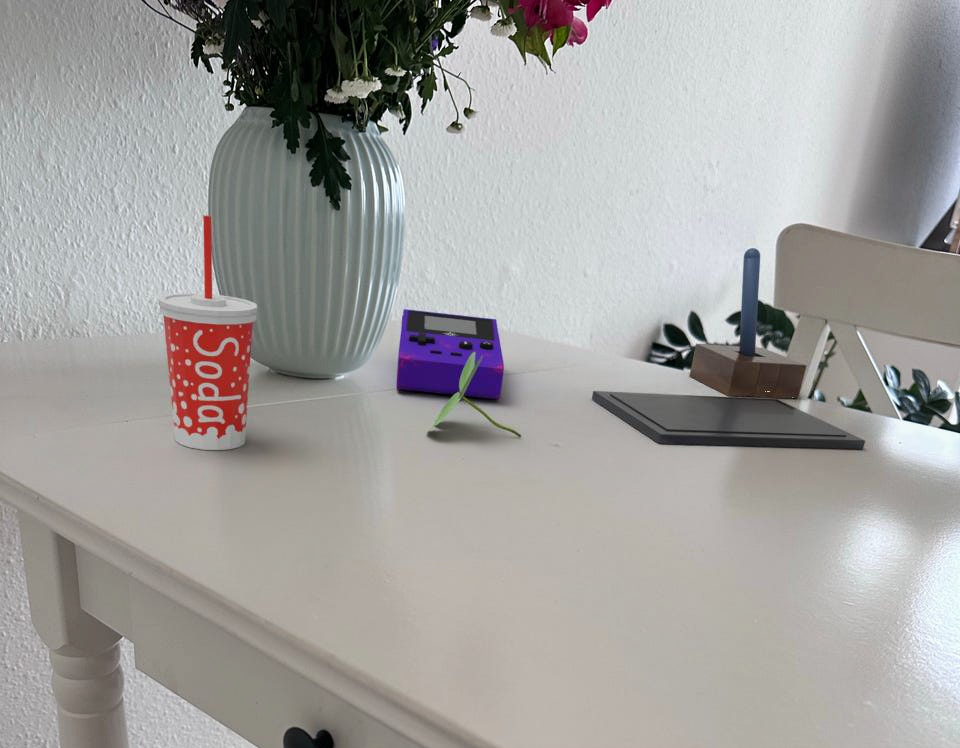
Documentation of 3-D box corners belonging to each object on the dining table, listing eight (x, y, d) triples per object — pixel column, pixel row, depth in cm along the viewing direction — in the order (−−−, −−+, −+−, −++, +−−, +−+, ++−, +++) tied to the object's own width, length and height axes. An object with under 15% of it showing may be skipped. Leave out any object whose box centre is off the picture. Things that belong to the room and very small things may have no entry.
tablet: (775, 407, 96) (777, 398, 95) (863, 449, 84) (866, 439, 83) (591, 399, 89) (592, 389, 89) (658, 443, 78) (660, 433, 77)
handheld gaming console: (397, 352, 81) (403, 304, 93) (393, 411, 84) (399, 357, 96) (507, 363, 82) (498, 314, 94) (499, 422, 84) (491, 367, 97)
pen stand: (755, 379, 107) (763, 347, 106) (798, 399, 100) (807, 365, 99) (689, 376, 105) (695, 343, 103) (728, 395, 98) (736, 361, 96)
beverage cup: (152, 448, 62) (142, 213, 56) (175, 423, 68) (169, 206, 61) (247, 457, 63) (248, 225, 56) (263, 432, 68) (266, 218, 62)
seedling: (474, 495, 76) (407, 445, 74) (516, 421, 79) (453, 371, 77) (518, 465, 70) (446, 409, 68) (561, 385, 73) (493, 330, 71)
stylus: (748, 384, 103) (755, 246, 96) (756, 388, 102) (763, 248, 95) (734, 387, 103) (741, 248, 96) (742, 390, 102) (749, 250, 95)
